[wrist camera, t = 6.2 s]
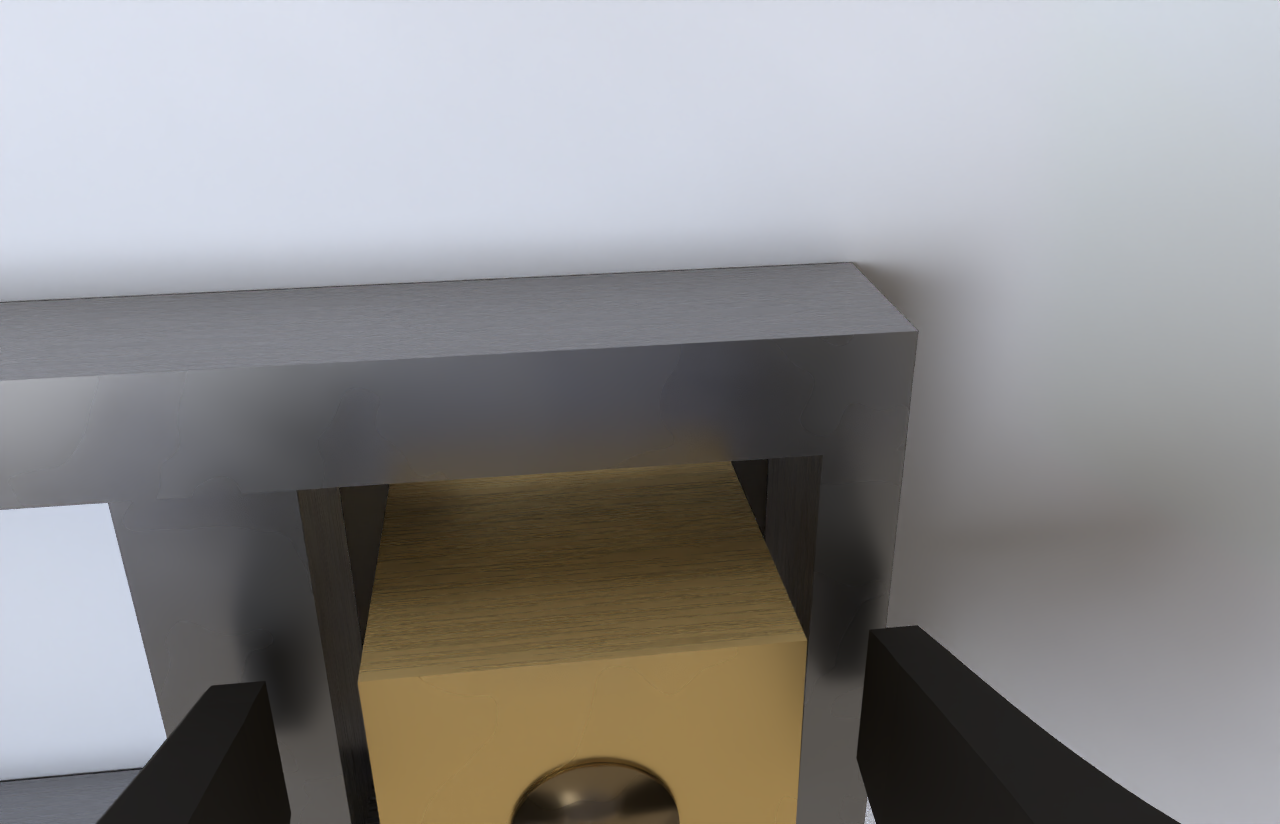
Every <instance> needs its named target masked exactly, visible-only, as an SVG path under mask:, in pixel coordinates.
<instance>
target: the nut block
mask: <svg viewBox="0 0 1280 824" xmlns="http://www.w3.org/2000/svg"><path fill="white" fill-rule="evenodd" d="M806 653H807V639H806V636H805V634H804V632H803V629H802V627H801V625H800V622H799V620H798V618H797V615H796V613H795V611H794V608H793V606H792V604H791V601H790V599H789V596H788V594H787V592H786V589H785V587H784V585H783V582H782V580H781V578H780V575H779V573H778V571H777V568H776V566H775V564H774V561H773V559H772V557H771V554H770V552H769V550H768V547H767V545H766V543H765V540H764V538H763V536H762V533H761V531H760V529H759V526H758V524H757V522H756V519H755V517H754V515H753V512H752V510H751V508H750V505H749V503H748V501H747V498H746V496H745V494H744V491H743V489H742V487H741V484H740V482H739V480H738V477H737V475H736V473H735V470H734V468H733V466H732V463H731V461H727V462H712V463H696V464H681V465H666V466H651V467H636V468H621V469H606V470H591V471H576V472H561V473H546V474H531V475H516V476H501V477H486V478H471V479H456V480H441V481H426V482H411V483H396V484H390V485H389V491H388V498H387V504H386V510H385V516H384V522H383V529H382V535H381V541H380V547H379V553H378V559H377V566H376V572H375V578H374V584H373V590H372V596H371V603H370V609H369V615H368V621H367V627H366V633H365V640H364V646H363V652H362V658H361V664H360V670H359V677H358V688H359V694H360V700H361V707H362V713H363V719H364V725H365V732H366V738H367V744H368V750H369V757H370V763H371V769H372V775H373V782H374V788H375V794H376V800H377V807H378V813H379V819H380V824H796V814H797V798H798V782H799V766H800V750H801V734H802V717H803V701H804V685H805V669H806Z"/></svg>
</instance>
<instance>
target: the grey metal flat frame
mask: <svg viewBox="0 0 1280 824" xmlns="http://www.w3.org/2000/svg"><path fill="white" fill-rule="evenodd" d="M917 337H918V330H917V329H916V328H915V327H914V326H913V325H912V324H911V323H910V322H909V321H908V320H907V319H906V318H905V317H904V316H903V315H902V314H901V313H900V312H899V311H898V310H897V309H896V308H895V307H894V305H893V304H892V303H891V302H890V301H889V300H888V299H887V298H886V297H885V296H884V295H883V294H882V293H881V292H880V291H879V290H878V289H877V288H876V287H875V286H874V285H873V284H872V283H871V282H870V281H869V280H868V279H867V278H866V277H865V276H864V275H863V274H862V273H861V272H860V271H859V269H858V268H857V267H856V266H855V265H854V264H853V263H833V264H812V265H791V266H770V267H748V268H727V269H706V270H685V271H664V272H642V273H621V274H600V275H579V276H557V277H536V278H515V279H494V280H472V281H451V282H430V283H409V284H387V285H366V286H345V287H324V288H302V289H281V290H260V291H239V292H217V293H196V294H175V295H154V296H133V297H111V298H90V299H69V300H48V301H26V302H5V303H0V510H5V509H20V508H35V507H50V506H65V505H80V504H95V503H108V505H109V509H110V513H111V517H112V521H113V525H114V529H115V533H116V537H117V541H118V545H119V548H120V552H121V556H122V560H123V564H124V568H125V572H126V576H127V580H128V584H129V588H130V592H131V596H132V600H133V604H134V608H135V612H136V616H137V620H138V624H139V628H140V632H141V636H142V640H143V644H144V648H145V652H146V656H147V660H148V664H149V668H150V672H151V676H152V680H153V684H154V688H155V692H156V696H157V700H158V704H159V708H160V712H161V716H162V720H163V724H164V728H165V732H166V736H167V738H168V737H169V735H170V734H171V733H172V732H173V730H174V729H175V728H176V727H177V725H178V724H179V723H180V722H181V720H182V719H183V718H184V717H185V715H186V714H187V713H188V712H189V711H190V709H191V708H192V707H193V706H194V704H195V703H196V702H197V701H198V699H199V698H200V697H201V696H202V695H203V694H204V692H205V691H206V690H207V689H208V688H209V687H210V686H211V685H222V684H234V683H246V682H258V681H266V686H267V691H268V697H269V702H270V707H271V712H272V717H273V722H274V727H275V732H276V737H277V743H278V748H279V753H280V758H281V763H282V768H283V773H284V778H285V784H286V789H287V794H288V799H289V804H290V809H291V820H290V824H380V819H379V813H378V807H377V800H376V794H375V788H374V782H373V775H372V769H371V763H370V757H369V750H368V744H367V738H366V732H365V725H364V719H363V713H362V707H361V700H360V694H359V688H358V677H359V670H360V664H361V658H362V652H363V648H362V641H361V634H360V627H359V620H358V614H357V607H356V600H355V593H354V586H353V579H352V572H351V565H350V558H349V551H348V545H347V538H346V531H345V524H344V517H343V510H342V503H341V496H340V489H339V487H351V486H366V485H381V484H396V483H411V482H426V481H441V480H456V479H471V478H486V477H501V476H516V475H531V474H546V473H561V472H576V471H591V470H606V469H621V468H636V467H651V466H666V465H681V464H696V463H712V462H727V461H742V460H757V459H769V461H768V481H767V502H766V522H765V543H766V545H767V547H768V550H769V552H770V554H771V557H772V559H773V561H774V564H775V566H776V568H777V571H778V573H779V575H780V578H781V580H782V582H783V585H784V587H785V589H786V592H787V594H788V596H789V599H790V601H791V604H792V606H793V608H794V611H795V613H796V615H797V618H798V620H799V622H800V625H801V627H802V629H803V632H804V634H805V636H806V639H807V653H806V669H805V685H804V701H803V717H802V734H801V750H800V766H799V782H798V798H797V814H796V824H864V822H865V813H866V804H867V793H866V789H865V786H864V783H863V779H862V776H861V772H860V769H859V765H858V762H857V759H856V756H857V746H858V736H859V726H860V716H861V706H862V696H863V687H864V677H865V667H866V657H867V647H868V637H869V630H871V629H882V628H886V621H887V612H888V602H889V593H890V584H891V575H892V566H893V557H894V547H895V538H896V529H897V520H898V511H899V502H900V493H901V483H902V474H903V465H904V456H905V447H906V438H907V429H908V419H909V410H910V401H911V392H912V383H913V374H914V365H915V355H916V346H917ZM141 770H142V769H140V770H129V771H119V772H108V773H97V774H86V775H75V776H64V777H53V778H43V779H32V780H21V781H10V782H0V824H95V823H96V822H97V821H98V820H99V819H100V818H101V816H102V815H103V814H104V813H105V812H106V811H107V809H108V808H109V807H110V806H111V805H112V804H113V802H114V801H115V800H116V799H117V798H118V797H119V795H120V794H121V793H122V792H123V791H124V790H125V788H126V787H127V786H128V785H129V784H130V783H131V782H132V780H133V779H134V778H135V777H136V776H137V775H138V773H139V772H140V771H141Z"/></svg>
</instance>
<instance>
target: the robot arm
mask: <svg viewBox="0 0 1280 824" xmlns="http://www.w3.org/2000/svg"><path fill="white" fill-rule="evenodd" d="M856 759H857V762H858V765H859V769H860V772H861V776H862V779H863V783H864V786H865V789H866V793H867V796H868V800H869V803H870V806H871V809H872V812H873V815H874V818H875V822H876V824H1180V823H1179V822H1177V821H1176V820H1174V819H1172V818H1171V817H1169V816H1167V815H1166V814H1164V813H1163V812H1161V811H1159V810H1158V809H1156V808H1154V807H1153V806H1151V805H1150V804H1148V803H1146V802H1145V801H1143V800H1142V799H1140V798H1139V797H1137V796H1136V795H1134V794H1133V793H1131V792H1130V791H1128V790H1127V789H1125V788H1124V787H1122V786H1121V785H1119V784H1118V783H1116V782H1115V781H1113V780H1112V779H1111V778H1109V777H1108V776H1106V775H1105V774H1104V773H1102V772H1101V771H1099V770H1098V769H1096V768H1095V767H1094V766H1092V765H1091V764H1089V763H1088V762H1087V761H1085V760H1084V759H1082V758H1081V757H1080V756H1078V755H1077V754H1075V753H1074V752H1073V751H1071V750H1070V749H1069V748H1067V747H1066V746H1065V745H1063V744H1062V743H1061V742H1059V741H1058V740H1057V739H1055V738H1054V737H1053V736H1051V735H1050V734H1049V733H1048V732H1046V731H1045V730H1044V729H1042V728H1041V727H1040V726H1039V725H1037V724H1036V723H1035V722H1033V721H1032V720H1031V719H1030V718H1028V717H1027V716H1026V715H1025V714H1023V713H1022V712H1021V711H1020V710H1018V709H1017V708H1016V707H1015V706H1013V705H1012V704H1011V703H1010V702H1009V701H1007V700H1006V699H1005V698H1004V697H1002V696H1001V695H1000V694H999V693H998V692H996V691H995V690H994V689H993V688H992V687H990V686H989V685H988V684H987V683H986V682H984V681H983V680H982V679H981V678H980V677H978V676H977V675H976V674H975V673H974V672H972V671H971V670H970V669H969V668H968V667H966V666H965V665H964V664H963V663H962V662H961V661H959V660H958V659H957V658H956V657H955V656H953V655H952V654H951V653H950V652H949V651H948V650H946V649H945V648H944V647H943V646H942V645H941V644H939V643H938V642H937V641H936V640H935V639H933V638H932V637H931V636H930V635H928V634H927V633H926V632H925V631H924V630H922V629H921V628H920V627H919V626H906V627H894V628H882V629H871V630H869V637H868V647H867V657H866V667H865V677H864V687H863V696H862V706H861V716H860V726H859V736H858V746H857V756H856ZM290 820H291V809H290V804H289V799H288V794H287V789H286V784H285V778H284V773H283V768H282V763H281V758H280V753H279V748H278V743H277V737H276V732H275V727H274V722H273V717H272V712H271V707H270V702H269V697H268V691H267V686H266V681H258V682H246V683H234V684H222V685H211V686H210V687H209V688H208V689H207V690H206V691H205V692H204V694H203V695H202V696H201V697H200V698H199V699H198V701H197V702H196V703H195V704H194V706H193V707H192V708H191V709H190V711H189V712H188V713H187V714H186V715H185V717H184V718H183V719H182V720H181V722H180V723H179V724H178V725H177V727H176V728H175V729H174V730H173V732H172V733H171V734H170V735H169V737H168V738H167V739H166V740H165V742H164V743H163V744H162V745H161V747H160V748H159V749H158V750H157V751H156V753H155V754H154V755H153V756H152V758H151V759H150V760H149V761H148V762H147V764H146V765H145V766H144V767H143V768H142V770H141V771H140V772H139V773H138V775H137V776H136V777H135V778H134V779H133V780H132V782H131V783H130V784H129V785H128V786H127V787H126V788H125V790H124V791H123V792H122V793H121V794H120V795H119V797H118V798H117V799H116V800H115V801H114V802H113V804H112V805H111V806H110V807H109V808H108V809H107V811H106V812H105V813H104V814H103V815H102V816H101V818H100V819H99V820H98V821H97V822H96V823H95V824H290Z"/></svg>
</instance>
